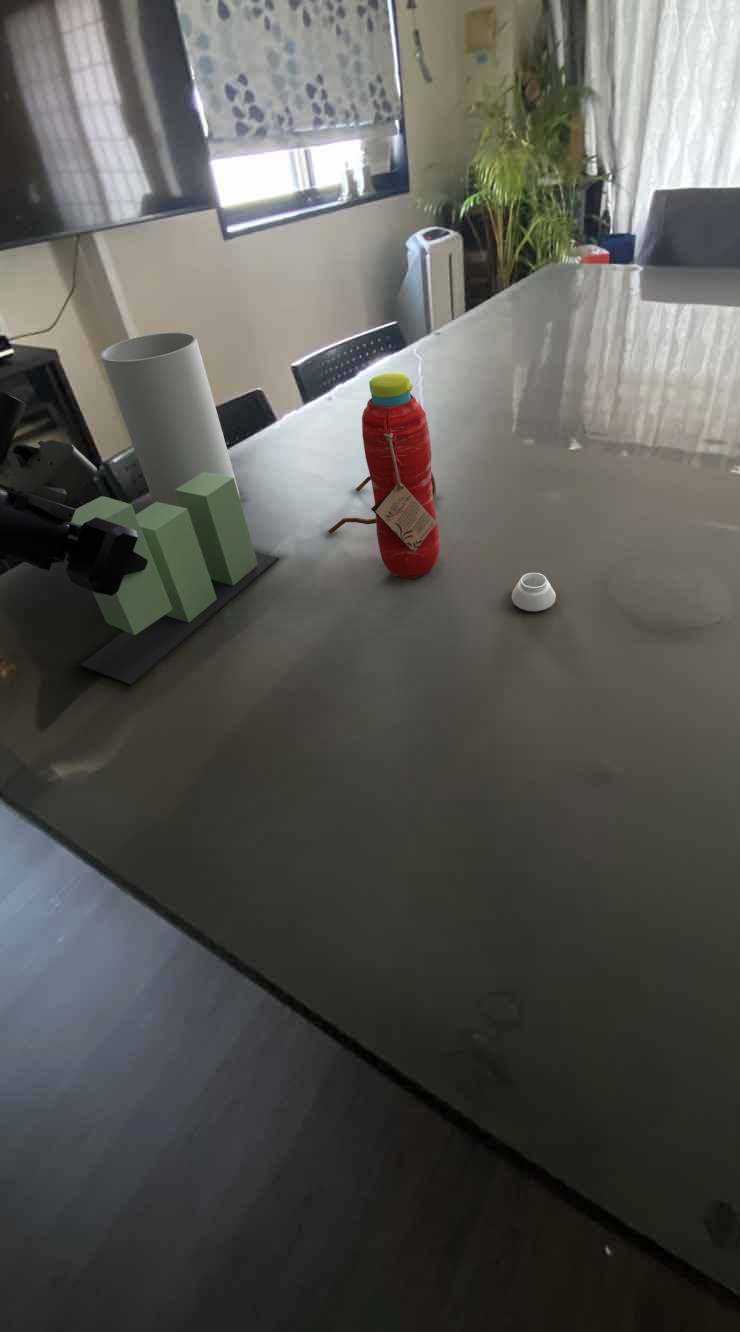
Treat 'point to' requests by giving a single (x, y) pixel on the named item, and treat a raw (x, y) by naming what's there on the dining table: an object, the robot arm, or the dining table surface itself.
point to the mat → (163, 634)
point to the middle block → (177, 559)
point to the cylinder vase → (167, 410)
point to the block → (138, 591)
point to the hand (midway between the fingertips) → (129, 558)
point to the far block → (219, 526)
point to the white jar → (533, 593)
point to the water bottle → (400, 476)
